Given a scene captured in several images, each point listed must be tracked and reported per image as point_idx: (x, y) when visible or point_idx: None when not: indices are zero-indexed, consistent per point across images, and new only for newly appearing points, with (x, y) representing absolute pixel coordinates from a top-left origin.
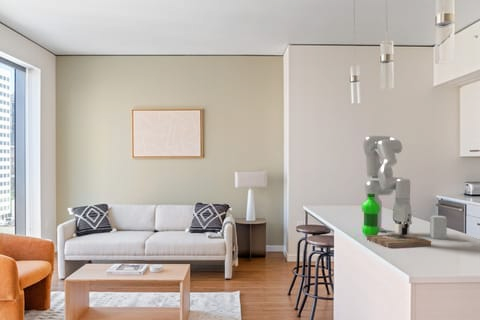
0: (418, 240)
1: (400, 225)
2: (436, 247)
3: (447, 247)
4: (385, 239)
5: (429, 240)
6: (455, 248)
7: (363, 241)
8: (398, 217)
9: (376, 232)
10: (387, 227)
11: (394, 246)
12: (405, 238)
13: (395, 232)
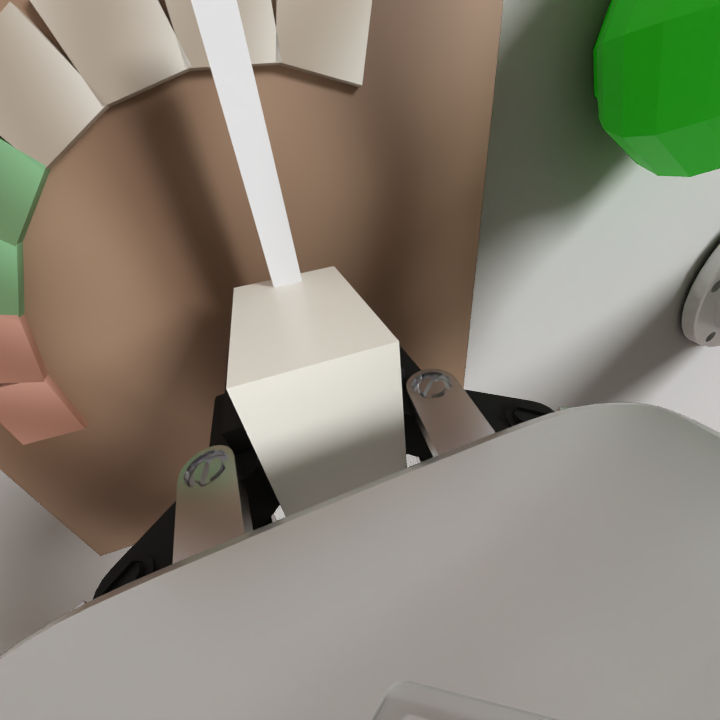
0: (83, 463)
1: (251, 427)
2: (30, 535)
3: (71, 589)
4: None
5: (127, 546)
6: (45, 622)
7: None
8: (397, 698)
9: (619, 59)
10: (715, 394)
11: None
12: (204, 354)
13: (268, 248)
